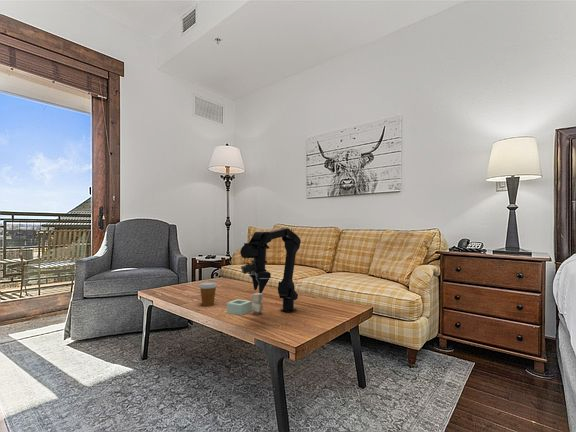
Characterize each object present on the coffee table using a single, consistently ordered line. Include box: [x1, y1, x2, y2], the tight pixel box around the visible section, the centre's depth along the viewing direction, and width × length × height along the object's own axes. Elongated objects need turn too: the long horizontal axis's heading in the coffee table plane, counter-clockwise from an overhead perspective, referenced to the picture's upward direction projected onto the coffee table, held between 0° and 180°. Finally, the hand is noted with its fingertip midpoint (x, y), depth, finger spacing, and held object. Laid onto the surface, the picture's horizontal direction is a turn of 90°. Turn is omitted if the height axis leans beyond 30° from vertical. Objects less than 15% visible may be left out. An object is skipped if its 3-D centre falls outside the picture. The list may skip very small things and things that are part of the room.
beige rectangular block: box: [251, 292, 264, 316], centre depth 156 cm, size 4×4×10 cm
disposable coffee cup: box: [199, 281, 218, 307], centre depth 173 cm, size 10×10×12 cm
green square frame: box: [226, 298, 253, 316], centre depth 159 cm, size 9×9×5 cm
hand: (257, 291), depth 144 cm, fingers open, 9 cm apart
